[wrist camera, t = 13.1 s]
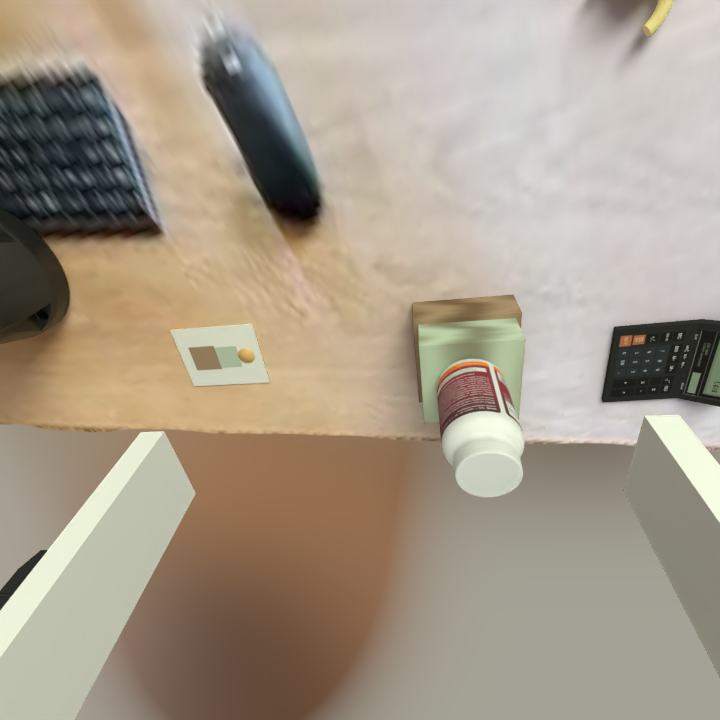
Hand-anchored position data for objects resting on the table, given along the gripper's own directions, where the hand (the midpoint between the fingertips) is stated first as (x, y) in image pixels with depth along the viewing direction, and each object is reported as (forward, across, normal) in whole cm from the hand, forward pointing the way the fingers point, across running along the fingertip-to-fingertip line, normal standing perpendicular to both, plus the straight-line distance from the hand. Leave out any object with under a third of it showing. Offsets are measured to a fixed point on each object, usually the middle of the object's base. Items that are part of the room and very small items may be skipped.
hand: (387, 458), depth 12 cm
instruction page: (+32, -23, -15) cm, 42 cm away
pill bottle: (+24, +5, -15) cm, 29 cm away
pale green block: (+32, +5, -15) cm, 35 cm away
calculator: (+32, +26, -19) cm, 46 cm away
